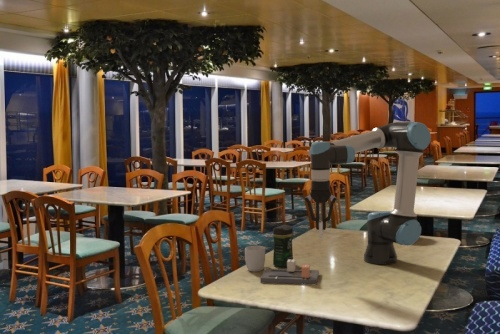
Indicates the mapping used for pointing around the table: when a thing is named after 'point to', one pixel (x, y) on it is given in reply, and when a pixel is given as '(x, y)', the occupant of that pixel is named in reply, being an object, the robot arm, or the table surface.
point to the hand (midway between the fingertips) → (321, 237)
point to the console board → (288, 276)
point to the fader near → (305, 271)
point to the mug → (255, 258)
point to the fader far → (291, 265)
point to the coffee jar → (282, 245)
